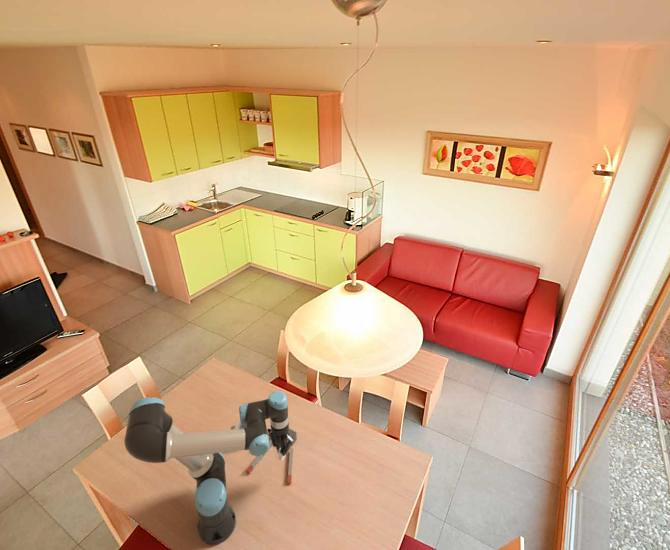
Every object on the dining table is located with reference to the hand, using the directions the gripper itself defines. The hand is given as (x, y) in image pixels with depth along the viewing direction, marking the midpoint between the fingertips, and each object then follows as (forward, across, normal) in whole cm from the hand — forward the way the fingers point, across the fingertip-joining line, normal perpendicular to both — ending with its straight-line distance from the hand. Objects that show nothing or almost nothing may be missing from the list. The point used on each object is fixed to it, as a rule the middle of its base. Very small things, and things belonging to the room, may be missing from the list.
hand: (282, 458), depth 175 cm
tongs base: (+13, +11, -6) cm, 19 cm away
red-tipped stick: (+13, 0, -6) cm, 14 cm away
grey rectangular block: (+13, +12, -17) cm, 25 cm away
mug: (+14, +30, -5) cm, 33 cm away
